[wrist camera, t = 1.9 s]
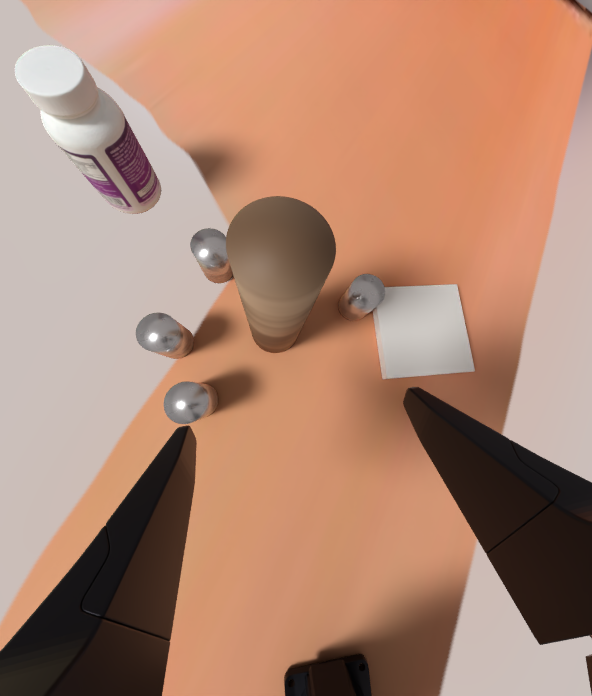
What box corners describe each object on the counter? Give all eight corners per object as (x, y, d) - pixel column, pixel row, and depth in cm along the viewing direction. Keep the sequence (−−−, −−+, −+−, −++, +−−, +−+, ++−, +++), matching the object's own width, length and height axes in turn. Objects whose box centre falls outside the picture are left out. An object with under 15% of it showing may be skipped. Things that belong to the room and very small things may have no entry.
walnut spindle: (299, 351, 23) (341, 294, 10) (253, 354, 23) (227, 299, 9) (295, 307, 24) (329, 196, 10) (250, 309, 24) (223, 196, 10)
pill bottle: (149, 162, 25) (76, 25, 16) (172, 203, 25) (111, 87, 15) (96, 181, 24) (-14, 47, 15) (119, 224, 24) (19, 114, 14)
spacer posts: (380, 400, 23) (402, 402, 19) (158, 422, 21) (133, 429, 17) (359, 251, 26) (375, 226, 22) (160, 256, 24) (138, 229, 20)
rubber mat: (466, 372, 25) (475, 371, 24) (382, 379, 24) (387, 378, 23) (449, 288, 26) (456, 284, 25) (369, 291, 25) (373, 287, 24)
